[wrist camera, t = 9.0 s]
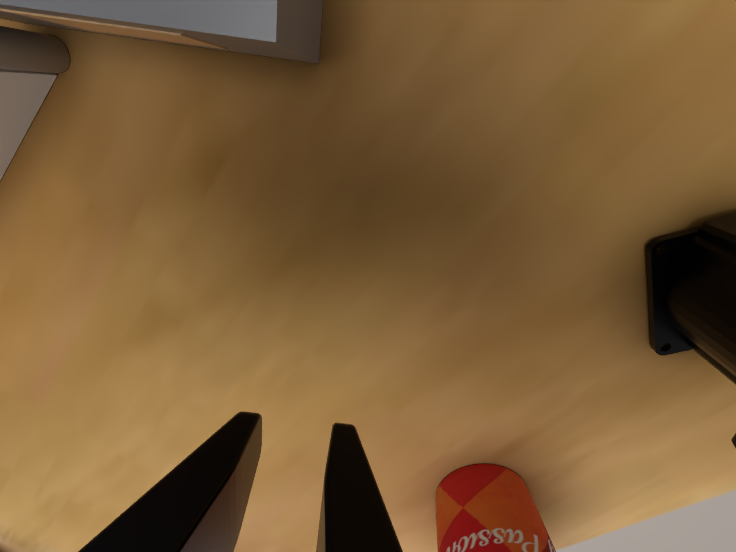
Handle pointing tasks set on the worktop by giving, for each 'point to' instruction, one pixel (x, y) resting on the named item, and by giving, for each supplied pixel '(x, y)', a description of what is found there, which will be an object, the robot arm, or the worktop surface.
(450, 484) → the coffee cup
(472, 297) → the worktop surface
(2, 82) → the side door
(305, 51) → the box
